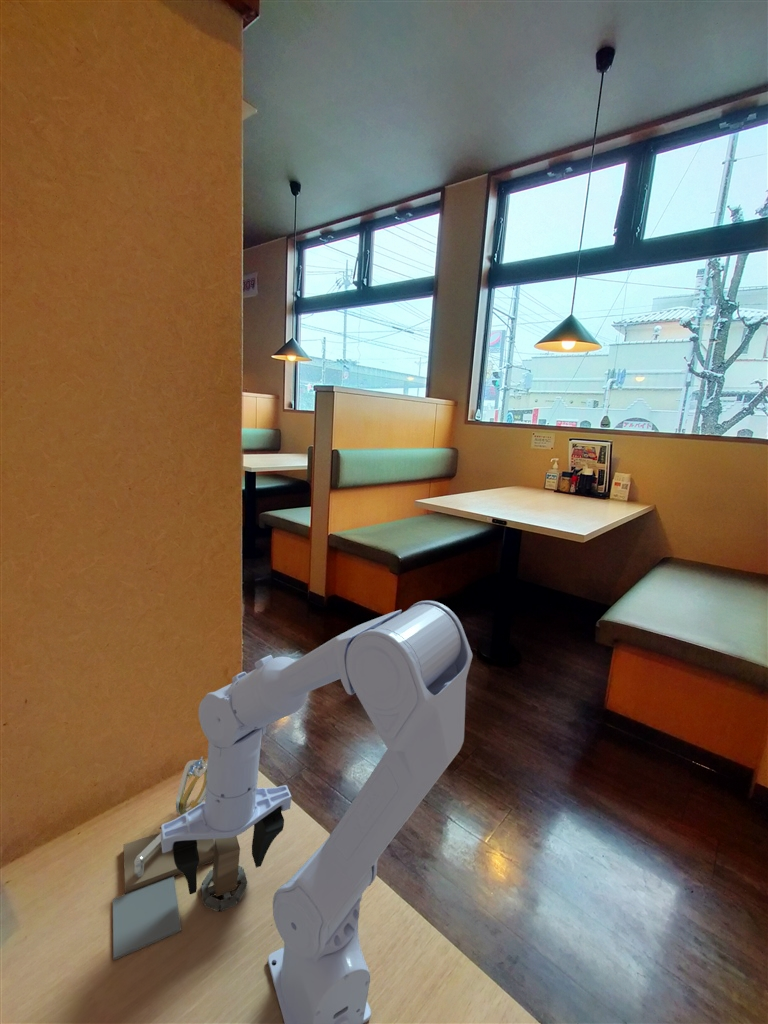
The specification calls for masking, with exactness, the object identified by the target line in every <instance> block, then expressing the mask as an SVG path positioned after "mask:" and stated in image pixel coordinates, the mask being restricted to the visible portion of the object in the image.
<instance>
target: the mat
mask: <svg viewBox="0 0 768 1024" xmlns="http://www.w3.org/2000/svg"><path fill="white" fill-rule="evenodd" d="M180 918H181V917H180V911H179V904H178V897H177V889H176V881H175V876H173V877H170V878H167V879H165V880H162V881H159V882H157V883H154V884H151V885H149V886H146V887H143V888H141V889H138V890H136V891H133V892H130V893H128V894H125V893H124V894H122V895H120V896H118V897H115V898H112V930H113V931H112V939H113V940H112V946H113V948H112V949H113V950H112V951H113V958H112V959H113V961H115V960H117V959H120V958H123V957H125V956H126V955H128V954H131V953H134V952H137V951H138V950H141V949H143V948H145V947H147V946H150V945H152V944H154V943H157V942H158V941H161V940H163V939H165V938H168V937H170V936H172V935H175V934H177V933H179V932H181V931H182V927H181V919H180Z"/></svg>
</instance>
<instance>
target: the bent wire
mask: <svg viewBox="0 0 768 1024" xmlns="http://www.w3.org/2000/svg"><path fill="white" fill-rule="evenodd" d="M159 833H160V832H159ZM160 847H161V833H160V834H159V835H158V836H157V837H156V838H155V839H154V840H153V841H152V842H151V843H150V844H149V845H148V846H147V847H146V848H145V849H144V850H143V851H142V852H141V853H140V854H139V855H138V856H137V857H136V859H135V861H134V864H135V875H134V877H135V878H136V879H139V878H141V877H142V876H143V875H144V864H145V863H146V862H147V860H148V859H149V858H150V857H151V856H152V855H153V854H154V853H155V852H156V851H157V850H158V849H159V848H160ZM214 847H215V839H213V846H212V848H213V850H214Z"/></svg>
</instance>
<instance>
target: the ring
mask: <svg viewBox="0 0 768 1024" xmlns="http://www.w3.org/2000/svg"><path fill="white" fill-rule="evenodd" d="M207 761H208V759H207V760H204V756H200V759H191V760H189V761H187V763H186V764H185V766H184V769H183V773H182V775H181V779H180V782H179V786H178V790H177V795H176V799H175V809H176V810H175V811H176V812H177V814H179V815H180V816H181V815H183V814H185V813H186V812H188V811H190V810H191V809H193V808H195V807H196V806H198V805H199V804H201V803H203V802H204V800H205V793H206V777H207ZM202 775H203V783H202V787H201V789H200V790H199V793H198V795H197V797H196V798H195V799H194V800H193V801H192V802H191V803H190V805H189V806H188V807H187V808H186V806H187V803H188V799H189V798H190V796H191V795H192V791H193V790H194V788H195V787H196V784H197V782H198V780H199V779H200V778H201V777H202ZM192 777H194V778H193V780H192V781H191V783H190V784H189V785H188V787H187V789H186V786H187V781H188V779H189V780H190V779H192Z"/></svg>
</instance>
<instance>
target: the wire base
mask: <svg viewBox="0 0 768 1024" xmlns="http://www.w3.org/2000/svg"><path fill="white" fill-rule="evenodd" d="M160 833H161V831H160V832H157V833H154V834H152V835H149V836H145V837H142V838H140V839H136V840H133V841H130V842H127V843H126V842H125V844H123V871H124V876H123V877H124V895H125V894H128V893H130V892H133V891H136V890H138V889H141V888H143V887H146V886H149V885H151V884H154V883H157V882H159V881H162V880H165V879H167V878H170V877H173V876H174V877H175V876H178V875H180V874H183V873H182V872H181V871H180V870H179V869H177V867H176V865H175V862H174V855H173V849H172V850H171V851H168V852H165V853H162V846H161V847H160V848H159V849H158V850H157V851H156V852H155V853H154V854H153V855H152V856H151V857H150V858H149V859H148V860H147V862H146V863H145V864H144V875H143V876H142V877H141V878H139V879H136V878H135V877H134V875H135V864H134V861H135V859H136V857H137V856H138V855H139V854H140V853H141V852H142V851H143V850H144V849H145V848H146V847H147V846H148V845H149V844H150V843H151V842H152V841H153V840H154V839H155V838H156V837H157V836H158V835H159V834H160ZM212 846H213V839H202V840H197V849H198V855H199V863H198V868H199V867H201V866H202V867H203V866H204V865H208V864H209V863H212V862H214V850H213V848H212Z"/></svg>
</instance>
